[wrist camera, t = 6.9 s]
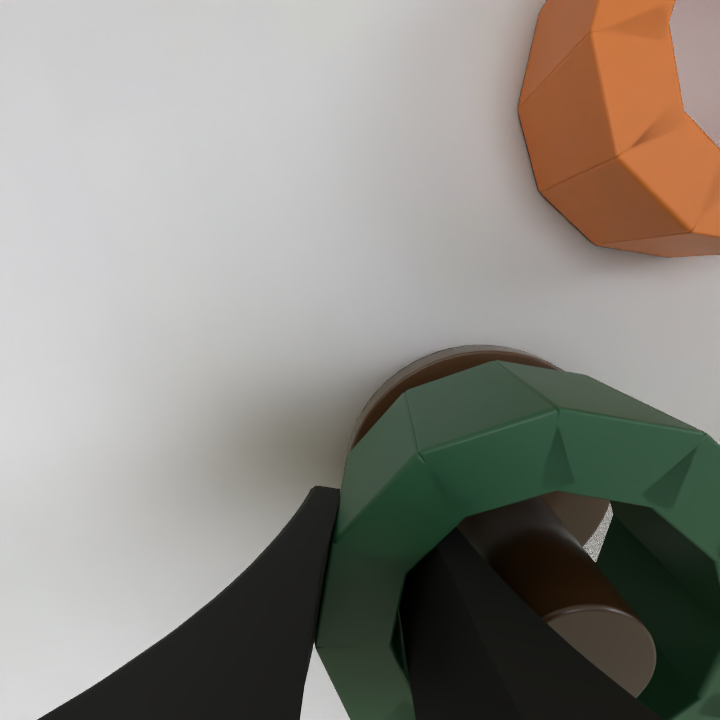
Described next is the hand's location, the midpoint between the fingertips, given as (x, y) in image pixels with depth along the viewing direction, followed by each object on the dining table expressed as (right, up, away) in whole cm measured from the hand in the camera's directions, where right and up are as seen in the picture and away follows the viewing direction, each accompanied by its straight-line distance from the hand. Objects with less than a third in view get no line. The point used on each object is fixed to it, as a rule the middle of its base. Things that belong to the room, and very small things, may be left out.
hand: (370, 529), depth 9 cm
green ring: (+4, 0, +1) cm, 4 cm away
